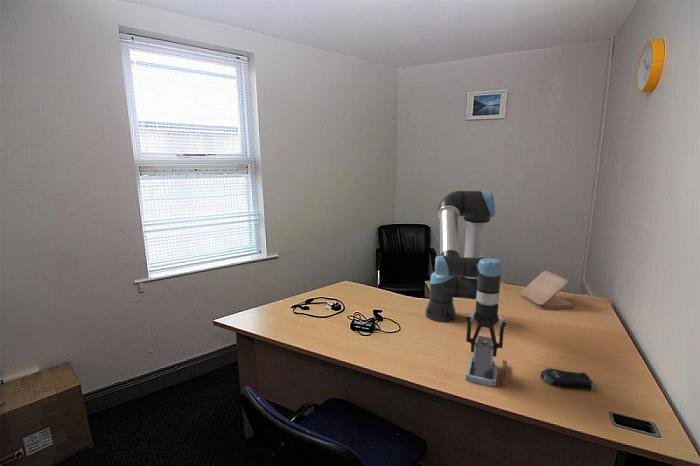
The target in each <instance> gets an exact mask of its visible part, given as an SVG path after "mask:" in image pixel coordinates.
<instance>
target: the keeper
mask: <svg viewBox="0 0 700 466" xmlns="http://www.w3.org/2000/svg"><path fill="white" fill-rule="evenodd" d="M473 359H474V355H473V356H469V360H468V365H467V370H466V373H465V380H466V381H468V382H471V383H476V384H479V385H483V386H488V387H496V384H497V376H498V375H497V373H498V365H499V364H498V361H496V360H494V359H493V362H492V366H491V365H490V369H489V371H486V370H481V369H477V368H474V366H475V362H473Z"/></svg>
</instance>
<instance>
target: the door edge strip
mask: <svg viewBox="0 0 700 466" xmlns="http://www.w3.org/2000/svg"><path fill="white" fill-rule="evenodd" d="M507 365H508V360H502V365H501V366H502V367H501V384H500V385H501V386H506V385H507V370H508V369H507V368H508V366H507Z"/></svg>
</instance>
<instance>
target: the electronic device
mask: <svg viewBox="0 0 700 466" xmlns="http://www.w3.org/2000/svg"><path fill="white" fill-rule="evenodd" d="M540 377H541V379H542V380H544V382H545V383H548V384H549V385H552V386H555V387H558V388H559V387H560V388H565V389H578V390H579V389H580V390H589V391H591V392H593V391H594V389H595V384H594V383H593V381H592V380H591V378H590V375H588V374H587V373H586V372H585V371H583V372H575V371H574V372H573V371H566V370H565V371H564V370H561V369H556V368H545V369H543V370H541V373H540Z"/></svg>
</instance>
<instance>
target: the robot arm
mask: <svg viewBox="0 0 700 466" xmlns="http://www.w3.org/2000/svg"><path fill="white" fill-rule="evenodd" d="M495 203H496V202H495V199H494V195H493V193H492V192H491V191H487V190H486V191H485V190H454V191H451V192H450V193H448V194H447V195H446V196H444V197H443V198H442V199H441V201H440V203H439V204H438V207H437V217H438V220H439V243H440V244H439V255H437V256H435V258H434V259H435V260H434V261H435V262H434V272H432V273H431V274H430V280H429V284H430V285H429V286H430V287H429V301H428V303H427V306H426V308H425V317H427V318H428V319H429V320H432V321H436V322H442V323H443V322H444V323H445V322H447V323H448V322H451V321H454V320H456V318H457V312H456V309H455V308H456V307H455V305H454V299H465V300H466V299H468V300H476V302H475V312H474V313H473V314H469V313H468V314H467V315H466V318H465V319H466V321H467V322H466V323H467V326H466V328H467V329H466V338H465V339H466V342H467V343H470V352H471V353H473V356H474V359H473V362H472V363H474V362H475V351H476V344H477V339H478V336H479V334H480V330H481V329H482V328H487V329H488V330H489V332H490V336H491V337H490V338H491V339H492V346H491V357H490V365H491V366H492V362H493V360H494V357H497V352H498V349H503V346H504V330H505V327H506V326H507V320H505V319H501V318H500V317H499V315H498V314H499V301H500V290H501V288H500V287H501V277H502V271H503V270H502V262H501V261H500V260H499V259H496V258H492V257H491V258H490V257H488V256H485V255H484V250H485V249H484V248H485V238H486V229H487V224H489V223H490V222H491V218H494V217H495V215H496V214H495V213H496V207H495V205H496V204H495ZM459 217H463V221H464V222H465V223H466V227H465V240H464V250H463V251H464V253H463V257H462V256H461V255H460V254H461V253H460V236H459V235H460V234H459ZM460 256H461V257H460ZM474 320H475V322H476V323H477V324H476V325H477V326H476V328H475V331H474V333H473V336H472V338H471V335H472V334H471V333H472V323H473V321H474ZM497 323H498V326H499V341H498V342H497V337H496V331H495V328H494V327H495V326H496V324H497Z"/></svg>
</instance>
